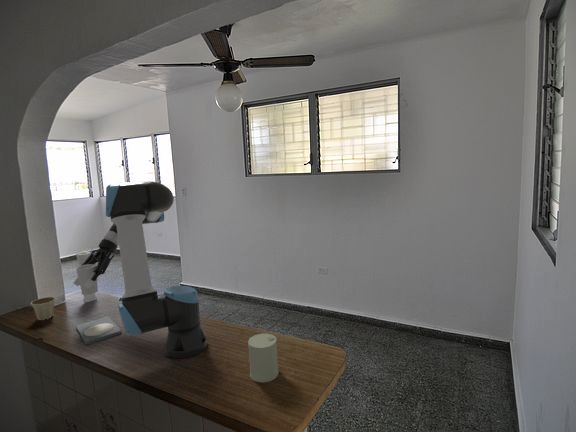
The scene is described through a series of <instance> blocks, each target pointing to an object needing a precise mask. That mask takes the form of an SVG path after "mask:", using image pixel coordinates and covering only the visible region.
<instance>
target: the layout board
mask: <svg viewBox="0 0 576 432" xmlns="http://www.w3.org/2000/svg"><path fill="white" fill-rule="evenodd" d="M75 328H76V331H77V332H78V334H79V336H80V337H81V338H82V340H83V342H84V344H85V345H86V346H87V345H91V344H93V343H94V344H95V343H96V342H100V341H102V340H105V339H108V338H111V337H115V336H118V335H121V334H122V330H121V328H119V327H118V325H117V324H116V323H115V322H114V321H113V320H112V319H111V318H110V316H109V315H108V316H105V317H102V318H98V319H94V320H92V321H88V322H85V323H81V324H78V325H75Z"/></svg>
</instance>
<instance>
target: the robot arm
mask: <svg viewBox="0 0 576 432" xmlns="http://www.w3.org/2000/svg"><path fill="white" fill-rule="evenodd" d="M174 201H175V199H174V194H173V192H172V191H171V189H170V188H169V187H168V186H166V185H165V184H162V183H160V182H157V181H150V180H149V181H137V182H136V181H134V182H133V181H132V182H131V181H130V182H119V183H118V182H117V183H112V184H111V183H110V184H108V185H107V186H106V188H105V217H107V218H110V222H112V225H111V226H110V228H109V230H108V231H107V232H106V233H105V235H104V237H103V239H101V241H100V242H99V244H98V247H99V248H98V250H95V251H94V250H92V253H91V254H90V256H89V257H88V258H87V259H86V261H85V262H84V263H83V264H82V265H81V266H83V265H88V264H96V265H97V267H96V270H95V271H94V272H95V273H94V272H93V273H92V275H91V276H90V278H89V279H88V281H87V282H86V284H85V285H84V286H86V287H87V288H89V289H90V288H91V286H92V285H93V283H94V282H95V281H96V279H97V280H98V277H99V276H101V275H105V273H106V271H107V269H108V267H109V265H110V263H111V261H112V259H113V258H114V257H115V255H114V253H115V252H116V250H117V249H118V247H119V254H120V262H121V267H122V277H123V282H124V289H125V292H124V294H123V295H122V297H121V302H120V303H118V304H117V308H118V312H119V315H120V319H121V323H122V327H123V329H124V332H125V334H126V336H130V337H132V336H137V335H143V334H145V333H149V332H152V331H157V330H160V329H164V328H168V329H167V336H166V339H165V342H164V352H165V355H166V356H168V357H170V358H173V359H186V358H187V359H188V358H190V357H193V356H196V355H198V354H200V353H202V352H203V351H204V350H205V349H206V348H207V345H208V340H207V336H206V334H205V332H204V329H203V327H202V325H201V313H200V300H199V296H198V291H197V289H196V288H194V287H191V286H187V285H174V286H169V287H167V288H165V289H164V290H163V291H164V292H163V294H158V291H157V289H156V288H155V287H153V286H152V279H151V272H150V267H149V259H148V252H147V246H146V240H145V232H144V227H143V225H147V224H158V223H162V222H164V221H165V212H167V211H168V210H170V209H171V207H172V206H173V205H174ZM72 284H73V285H75V286H77V287H80V283H79V278H78V275H77V276H76V278H75V279H74V281H73V282H72Z"/></svg>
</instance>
